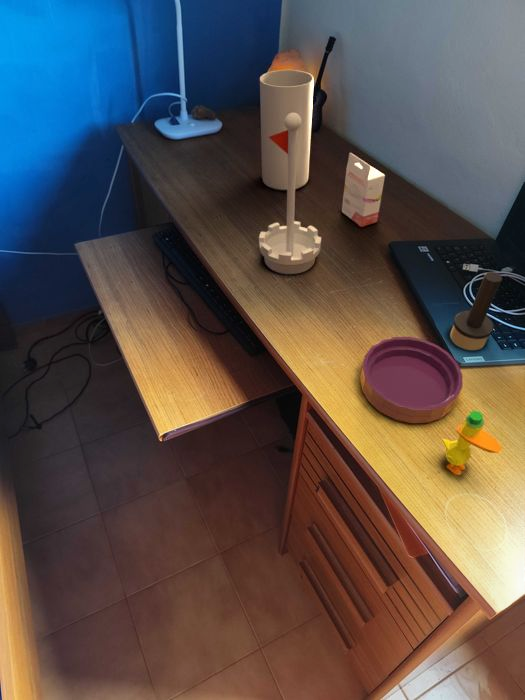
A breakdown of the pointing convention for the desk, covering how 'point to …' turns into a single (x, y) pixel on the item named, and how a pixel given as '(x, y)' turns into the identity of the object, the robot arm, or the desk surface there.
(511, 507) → the desk surface
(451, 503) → the desk surface
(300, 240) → the flag stand
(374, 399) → the plum bowl
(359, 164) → the ink cartridge box
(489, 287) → the dish brush
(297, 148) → the cylinder vase
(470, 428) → the toy figure
